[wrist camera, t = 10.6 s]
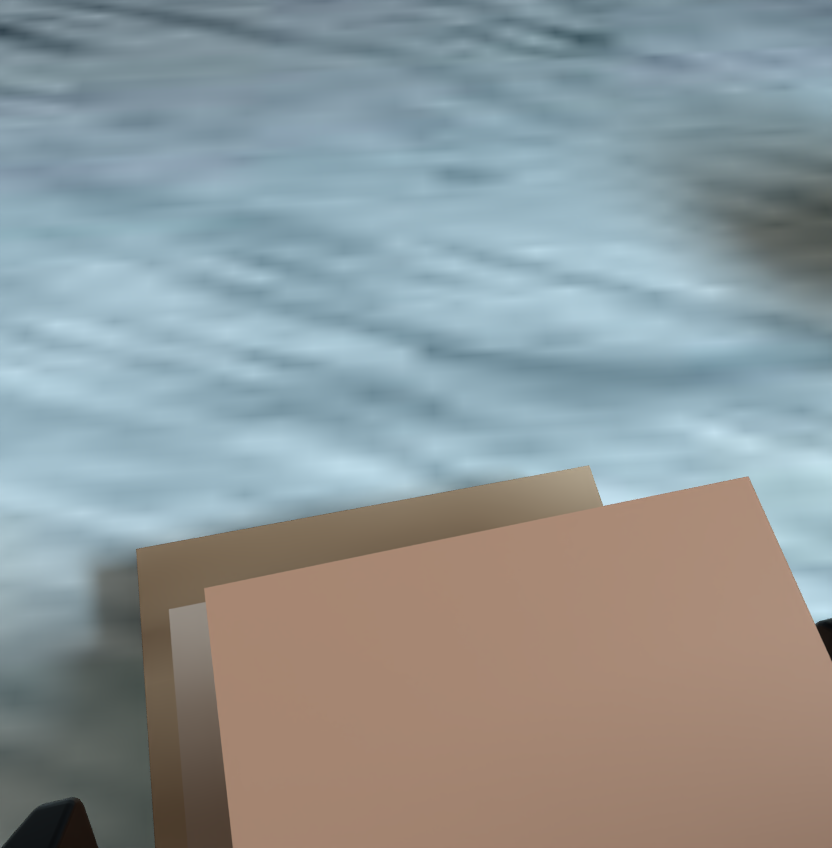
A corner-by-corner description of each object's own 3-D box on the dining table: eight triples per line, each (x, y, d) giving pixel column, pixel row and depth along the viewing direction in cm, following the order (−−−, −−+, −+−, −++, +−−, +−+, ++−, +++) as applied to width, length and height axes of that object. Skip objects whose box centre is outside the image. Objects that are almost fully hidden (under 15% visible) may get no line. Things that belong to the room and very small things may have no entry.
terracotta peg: (569, 897, 16) (1062, 1171, 5) (338, 965, 15) (303, 1489, 4) (505, 658, 18) (748, 476, 7) (298, 708, 17) (204, 588, 6)
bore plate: (773, 1093, 14) (892, 1183, 11) (204, 1294, 13) (156, 1468, 9) (572, 486, 20) (615, 431, 17) (152, 565, 18) (110, 521, 15)
